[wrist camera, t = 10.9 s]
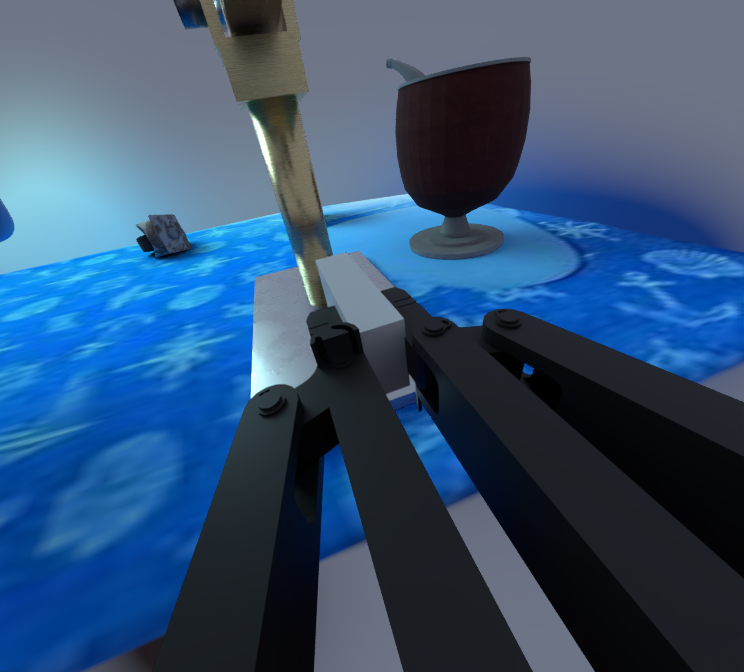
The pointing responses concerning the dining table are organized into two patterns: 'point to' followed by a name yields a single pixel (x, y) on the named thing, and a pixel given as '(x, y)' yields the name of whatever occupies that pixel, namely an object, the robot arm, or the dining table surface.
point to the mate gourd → (460, 147)
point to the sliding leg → (275, 124)
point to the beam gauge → (286, 288)
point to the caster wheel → (162, 235)
